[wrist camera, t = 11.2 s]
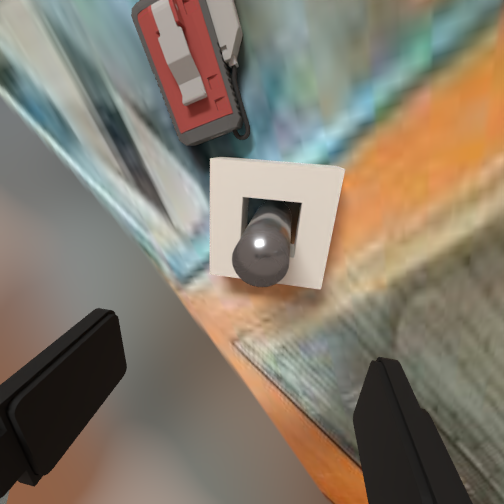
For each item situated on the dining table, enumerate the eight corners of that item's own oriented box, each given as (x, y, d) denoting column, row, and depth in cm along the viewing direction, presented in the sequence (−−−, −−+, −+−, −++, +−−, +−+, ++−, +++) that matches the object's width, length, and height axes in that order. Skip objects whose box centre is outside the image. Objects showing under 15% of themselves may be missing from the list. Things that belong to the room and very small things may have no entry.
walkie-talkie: (271, 131, 26) (196, -147, 19) (267, 128, 22) (171, -224, 15) (194, 159, 28) (104, -82, 22) (177, 161, 24) (60, -135, 17)
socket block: (337, 166, 26) (345, 169, 22) (317, 272, 30) (320, 289, 27) (221, 156, 27) (210, 158, 23) (219, 259, 32) (209, 274, 28)
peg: (293, 201, 28) (292, 237, 17) (289, 236, 29) (285, 290, 18) (257, 197, 28) (233, 231, 17) (254, 232, 30) (230, 282, 19)
